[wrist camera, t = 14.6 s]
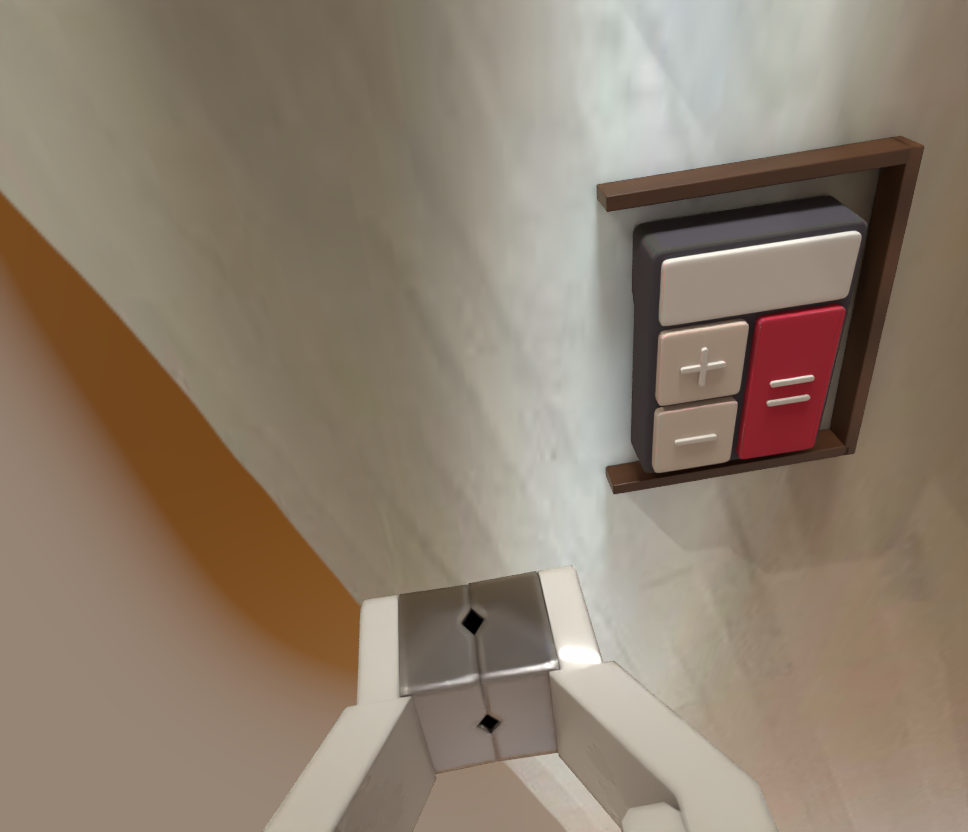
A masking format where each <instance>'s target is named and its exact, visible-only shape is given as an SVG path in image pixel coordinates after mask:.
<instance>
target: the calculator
mask: <svg viewBox="0 0 968 832" xmlns="http://www.w3.org/2000/svg"><path fill="white" fill-rule="evenodd" d="M867 228H868V225H867V222H866V221H865V220H864V219H862V218H861V217H860V216H858V215H857V214H856V213H854V212H853V211H852V210H850V209H849V208H847V207H846V206H845V205H843V204H842V203H841V202H839V201H838V200H836V199H835V198H834V197H832V196H821V197H814V198H808V199H801V200H795V201H788V202H782V203H775V204H768V205H762V206H755V207H749V208H742V209H735V210H729V211H722V212H716V213H709V214H702V215H696V216H689V217H683V218H676V219H670V220H663V221H656V222H650V223H644V224H640V225H638V226H637V227H636V228H635V229H634V232H633V264H632V292H633V300H634V346H633V383H632V419H631V443H632V445H633V448H634V450H635V452H636V455H637V457H638V459H639V461H640V464H641V466H642V468H643V470H644V471H645V472H646V473H654V472H656V473H662V472H668V471H675V470H681V469H687V468H693V467H699V466H706V465H712V464H718V463H724V462H727V461H729V460H735V459H749V458H755V457H761V456H768V455H774V454H780V453H786V452H792V451H799V450H805V449H809V448H812V447H813V446H814V444H815V443H816V441H817V437H818V433H819V429H820V425H821V421H822V416H823V412H824V408H825V404H826V400H827V396H828V391H829V387H830V383H831V379H832V375H833V371H834V366H835V362H836V358H837V354H838V350H839V345H840V341H841V337H842V333H843V329H844V325H845V320H846V316H847V312H848V308H849V304H850V300H851V295H852V291H853V287H854V283H855V279H856V274H857V270H858V266H859V262H860V258H861V254H862V249H863V245H864V241H865V237H866V233H867Z"/></svg>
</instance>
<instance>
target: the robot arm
mask: <svg viewBox="0 0 968 832" xmlns="http://www.w3.org/2000/svg"><path fill="white" fill-rule="evenodd" d="M552 753H558V754H559V757H560V758H561V759H562V760H563V761H564V763H565V764H566V765H567V766H568V767H569V768H570V770H571V771H572V772H573V773H574V774H575V775H576V777H577V778H578V779H579V780H580V781H581V783H582V784H583V785H584V786H585V787H586V788H587V790H588V791H589V792H590V793H591V794H592V795H593V797H594V798H595V799H596V800H597V801H598V803H599V804H600V805H601V806H602V807H603V808H604V810H605V811H606V812H607V813H608V814H609V815H610V817H611V818H612V819H613V820H614V821H615V823H616V824H617V825H618V826H619V827H620V828H621V830H622V832H779V831H778V829H777V826H776V824H775V822H774V819H773V817H772V815H771V812H770V810H769V808H768V805H767V803H766V801H765V798H764V796H763V794H762V791H761V789H760V787H759V784H758V783H757V782H756V781H755V780H754V779H753V778H752V777H750V776H749V775H748V774H747V773H746V772H744V771H743V770H742V769H741V768H740V767H739V766H737V765H736V764H735V763H734V762H733V761H731V760H730V759H729V758H728V757H727V756H726V755H724V754H723V753H722V752H721V751H720V750H718V749H717V748H716V747H715V746H714V745H713V744H711V743H710V742H709V741H708V740H707V739H706V738H704V737H703V736H702V735H701V734H700V733H698V732H697V731H696V730H695V729H694V728H693V727H691V726H690V725H689V724H688V723H687V722H685V721H684V720H683V719H682V718H681V717H680V716H678V715H677V714H676V713H675V712H674V711H672V710H671V709H670V708H669V707H668V706H667V705H665V704H664V703H663V702H662V701H661V700H659V699H658V698H657V697H656V696H655V695H654V694H652V693H651V692H650V691H649V690H648V689H646V688H645V687H644V686H643V685H642V684H641V683H639V682H638V681H637V680H636V679H635V678H634V677H632V676H631V675H630V674H629V673H628V672H626V671H625V670H624V669H623V668H622V667H621V666H619V665H618V664H617V663H616V662H615V661H609V662H603V661H602V657H601V654H600V650H599V647H598V644H597V640H596V637H595V633H594V630H593V627H592V623H591V620H590V616H589V613H588V610H587V606H586V603H585V599H584V596H583V593H582V589H581V586H580V582H579V579H578V575H577V572H576V570H575V569H574V567H573V566H572V565H570V566H565V567H559V568H553V569H547V570H542V571H538V573H537V572H536V571H533V572H528V573H523V574H517V575H512V576H506V577H501V578H495V579H490V580H484V581H479V582H473V583H469V584H468V585H461V586H454V587H447V588H440V589H433V590H427V591H420V592H413V593H406V594H400V595H395V596H388V597H382V598H375V599H369V600H364V601H363V604H362V607H361V611H360V635H359V661H358V688H357V705H355V706H350V707H346V708H345V709H344V711H343V712H342V714H341V715H340V717H339V718H338V720H337V722H336V723H335V725H334V726H333V727H332V729H331V730H330V732H329V733H328V735H327V736H326V738H325V739H324V741H323V742H322V744H321V745H320V747H319V748H318V750H317V751H316V753H315V754H314V756H313V757H312V759H311V760H310V762H309V763H308V765H307V766H306V768H305V769H304V771H303V772H302V773H301V775H300V776H299V778H298V779H297V781H296V782H295V784H294V785H293V787H292V789H291V790H290V791H289V793H288V794H287V796H286V797H285V799H284V800H283V802H282V803H281V805H280V806H279V808H278V809H277V811H276V812H275V814H274V815H273V817H272V818H271V820H270V821H269V823H268V824H267V826H266V827H265V829H264V830H263V831H262V832H413V830H414V828H415V825H416V823H417V821H418V819H419V816H420V814H421V812H422V810H423V807H424V805H425V803H426V801H427V798H428V796H429V794H430V792H431V789H432V787H433V785H434V783H435V780H436V776H435V774H438V773H444V772H448V771H453V770H458V769H463V768H468V767H473V766H478V765H482V764H488V763H493V762H496V761H505V760H511V759H518V758H525V757H532V756H538V755H545V754H552Z"/></svg>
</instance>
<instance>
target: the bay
mask: <svg viewBox="0 0 968 832" xmlns="http://www.w3.org/2000/svg"><path fill="white" fill-rule="evenodd" d="M923 150H924V145H921V144H919V143H917V142H914V141H912V140H910V139H907V138H905V137H903V136H898V137H890V138H884V139H878V140H872V141H866V142H859V143H853V144H847V145H841V146H834V147H828V148H822V149H816V150H809V151H803V152H797V153H791V154H784V155H778V156H772V157H766V158H760V159H753V160H747V161H741V162H735V163H728V164H722V165H716V166H710V167H703V168H697V169H691V170H685V171H678V172H672V173H666V174H660V175H654V176H647V177H641V178H635V179H629V180H622V181H616V182H610V183H604V184H598V185H597V199H598V201H599V202H600V203H601V205H602V206H603V207H604V209H605V210H606V211H607V212H610V211H616V210H622V209H628V208H634V207H641V206H647V205H653V204H659V203H665V202H672V201H678V200H684V199H690V198H696V197H703V196H709V195H715V194H721V193H727V192H734V191H740V190H746V189H752V188H758V187H765V186H771V185H777V184H783V183H789V182H796V181H802V180H808V179H814V178H820V177H827V176H833V175H839V174H845V173H851V172H858V171H864V170H870V169H876V168H881V173H880V178H879V183H878V188H877V193H876V198H875V203H874V208H873V213H872V218H871V223H870V228H869V233H868V238H867V243H866V249H865V254H864V259H863V264H862V269H861V274H860V279H859V284H858V289H857V294H856V299H855V304H854V309H853V314H852V319H851V325H850V330H849V335H848V340H847V345H846V350H845V355H844V360H843V365H842V370H841V375H840V380H839V385H838V390H837V395H836V401H835V406H834V411H833V416H832V421H831V426H830V429H827V430H821V431H819V433H818V437H817V441H816V443H815V444H814V446H813V447H812V448H809V449H805V450H799V451H792V452H786V453H780V454H774V455H768V456H761V457H755V458H749V459H735V460H729V461H727V462H724V463H718V464H712V465H706V466H699V467H693V468H687V469H681V470H675V471H668V472H662V473H656V472H654V473H646V472H645V471H644V470H643V468H642V466H641V464H640V461H638V462H632V463H626V464H620V465H614V466H608V467H606V477H607V479H608V482H609V484H610V487H611V489H612V492H613V494H619V493H625V492H631V491H637V490H643V489H649V488H655V487H661V486H667V485H672V484H678V483H684V482H690V481H696V480H702V479H708V478H714V477H719V476H725V475H731V474H737V473H743V472H749V471H755V470H761V469H766V468H772V467H778V466H784V465H790V464H796V463H802V462H808V461H813V460H819V459H825V458H831V457H837V456H843V455H849V454H854V453H855V449H856V444H857V440H858V435H859V431H860V427H861V422H862V418H863V414H864V409H865V405H866V400H867V396H868V392H869V387H870V383H871V378H872V374H873V370H874V365H875V361H876V356H877V352H878V348H879V343H880V339H881V334H882V330H883V326H884V321H885V317H886V313H887V308H888V304H889V299H890V295H891V291H892V286H893V282H894V277H895V273H896V269H897V264H898V260H899V255H900V251H901V247H902V242H903V238H904V234H905V229H906V225H907V220H908V216H909V212H910V207H911V203H912V198H913V194H914V190H915V185H916V181H917V176H918V172H919V168H920V163H921V159H922V155H923Z"/></svg>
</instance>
